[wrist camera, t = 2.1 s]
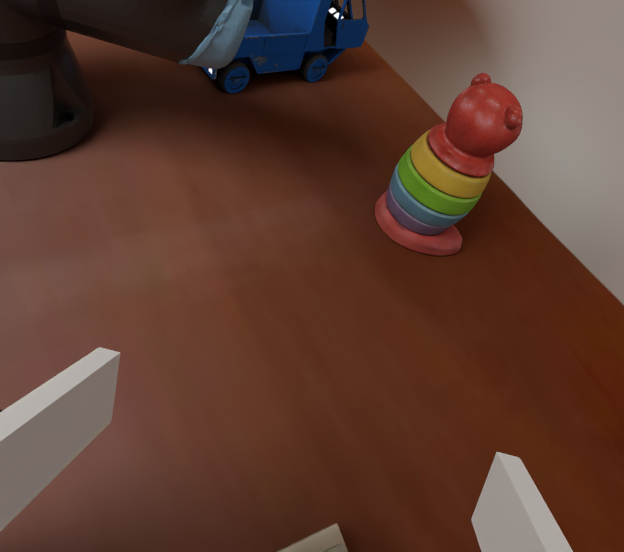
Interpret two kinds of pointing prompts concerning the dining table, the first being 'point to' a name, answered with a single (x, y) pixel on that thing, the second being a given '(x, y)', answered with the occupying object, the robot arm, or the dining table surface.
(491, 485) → the robot arm
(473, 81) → the stacking bear
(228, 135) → the dining table surface
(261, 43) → the toy vehicle
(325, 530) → the plinth
